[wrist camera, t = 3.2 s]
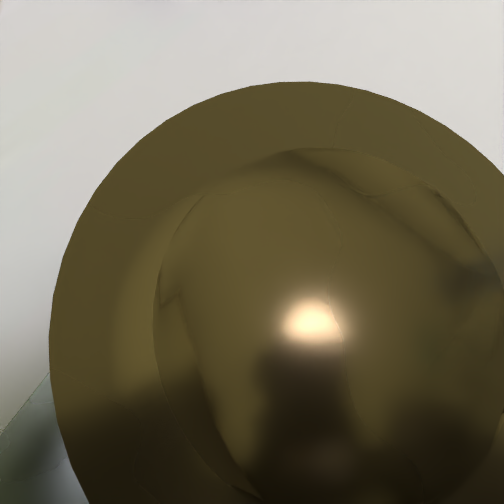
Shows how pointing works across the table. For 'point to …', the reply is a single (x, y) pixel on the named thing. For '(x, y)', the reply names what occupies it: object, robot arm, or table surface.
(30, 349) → the table surface
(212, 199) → the pin
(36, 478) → the bracket
